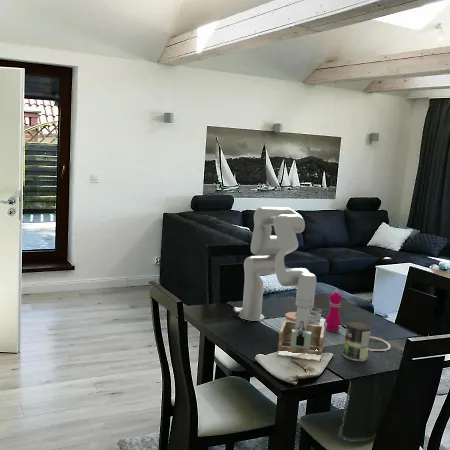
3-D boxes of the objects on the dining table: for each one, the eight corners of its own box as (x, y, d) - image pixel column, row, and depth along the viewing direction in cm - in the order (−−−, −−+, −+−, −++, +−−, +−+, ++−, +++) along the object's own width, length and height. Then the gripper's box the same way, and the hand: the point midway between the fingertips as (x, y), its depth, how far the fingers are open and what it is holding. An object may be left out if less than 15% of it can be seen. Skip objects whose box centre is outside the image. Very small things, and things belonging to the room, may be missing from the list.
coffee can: (347, 360, 229) (350, 328, 227) (340, 351, 239) (343, 320, 237) (371, 361, 230) (375, 329, 228) (363, 351, 240) (366, 321, 238)
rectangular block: (289, 351, 232) (291, 331, 231) (290, 349, 235) (292, 329, 233) (308, 354, 230) (311, 334, 229) (309, 352, 233) (311, 331, 232)
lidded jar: (309, 330, 263) (311, 311, 261) (302, 337, 253) (304, 317, 252) (287, 325, 267) (289, 307, 266) (280, 332, 258) (282, 313, 256)
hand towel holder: (375, 346, 238) (339, 330, 254) (373, 355, 238) (338, 339, 255) (399, 339, 247) (363, 324, 264) (398, 348, 248) (362, 333, 265)
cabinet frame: (277, 354, 230) (279, 332, 229) (282, 342, 245) (284, 320, 244) (320, 361, 226) (322, 338, 225) (322, 348, 241) (325, 326, 240)
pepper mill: (340, 333, 262) (344, 292, 259) (324, 331, 263) (328, 290, 260) (340, 328, 269) (344, 288, 266) (325, 326, 270) (329, 286, 267)
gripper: (297, 295, 238) (294, 333, 241) (293, 307, 221) (289, 347, 224) (315, 297, 236) (311, 335, 239) (312, 309, 220) (308, 350, 223)
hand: (300, 341), depth 232 cm, fingers open, 9 cm apart
